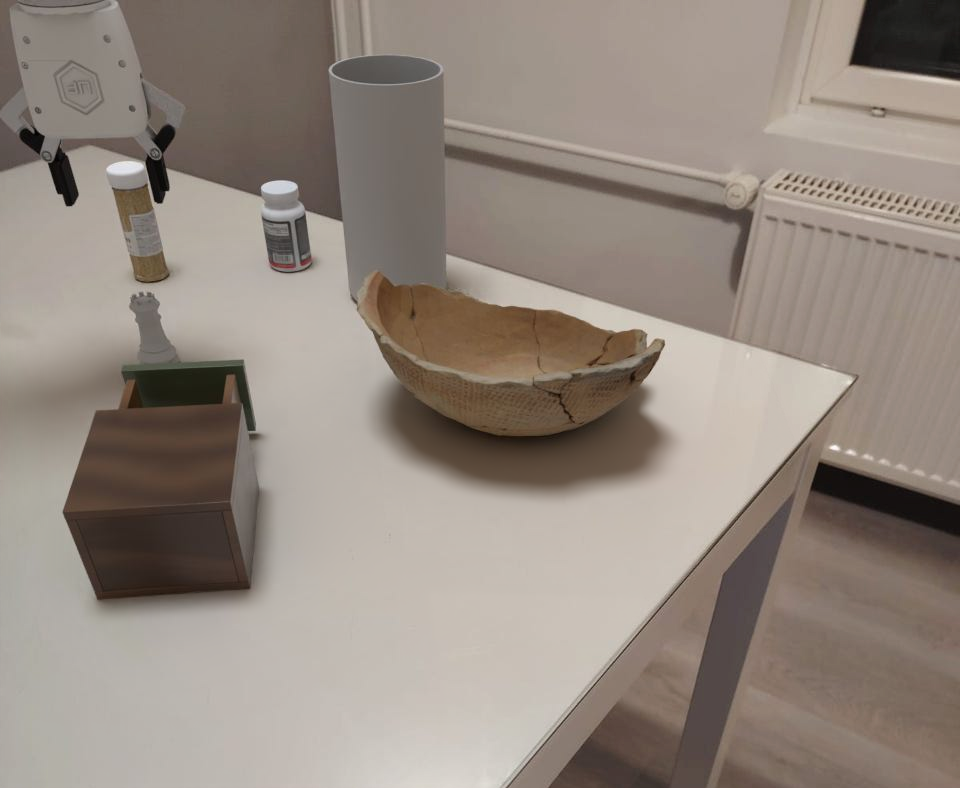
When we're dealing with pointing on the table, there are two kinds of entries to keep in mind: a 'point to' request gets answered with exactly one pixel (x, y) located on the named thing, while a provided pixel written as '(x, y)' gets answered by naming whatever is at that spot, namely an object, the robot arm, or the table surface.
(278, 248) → the pill bottle
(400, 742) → the table surface
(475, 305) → the ceramic bowl
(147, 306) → the rook chess piece
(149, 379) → the drawer
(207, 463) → the cabinet
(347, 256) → the cylinder vase
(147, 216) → the sprinkles bottle
